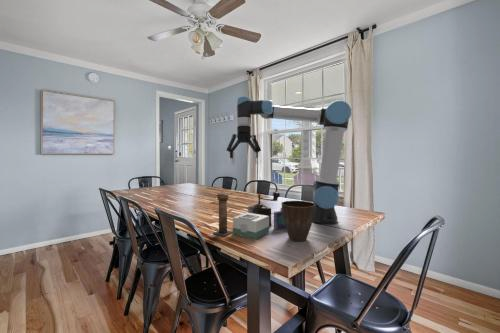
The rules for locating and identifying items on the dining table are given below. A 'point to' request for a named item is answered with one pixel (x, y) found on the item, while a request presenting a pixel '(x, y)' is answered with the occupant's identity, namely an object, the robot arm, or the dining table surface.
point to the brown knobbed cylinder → (222, 212)
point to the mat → (223, 234)
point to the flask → (279, 220)
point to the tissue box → (251, 225)
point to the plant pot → (298, 218)
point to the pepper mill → (263, 207)
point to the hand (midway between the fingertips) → (244, 164)
